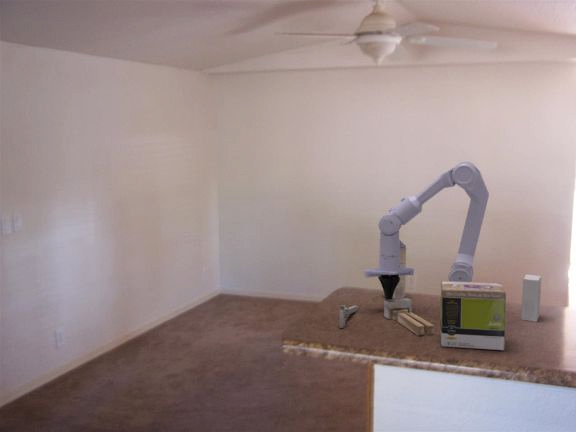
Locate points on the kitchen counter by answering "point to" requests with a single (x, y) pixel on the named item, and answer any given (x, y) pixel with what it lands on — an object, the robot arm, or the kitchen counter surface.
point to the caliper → (345, 314)
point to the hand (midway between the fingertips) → (388, 299)
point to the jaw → (410, 323)
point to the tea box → (472, 315)
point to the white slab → (396, 305)
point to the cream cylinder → (400, 287)
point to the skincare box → (531, 298)
